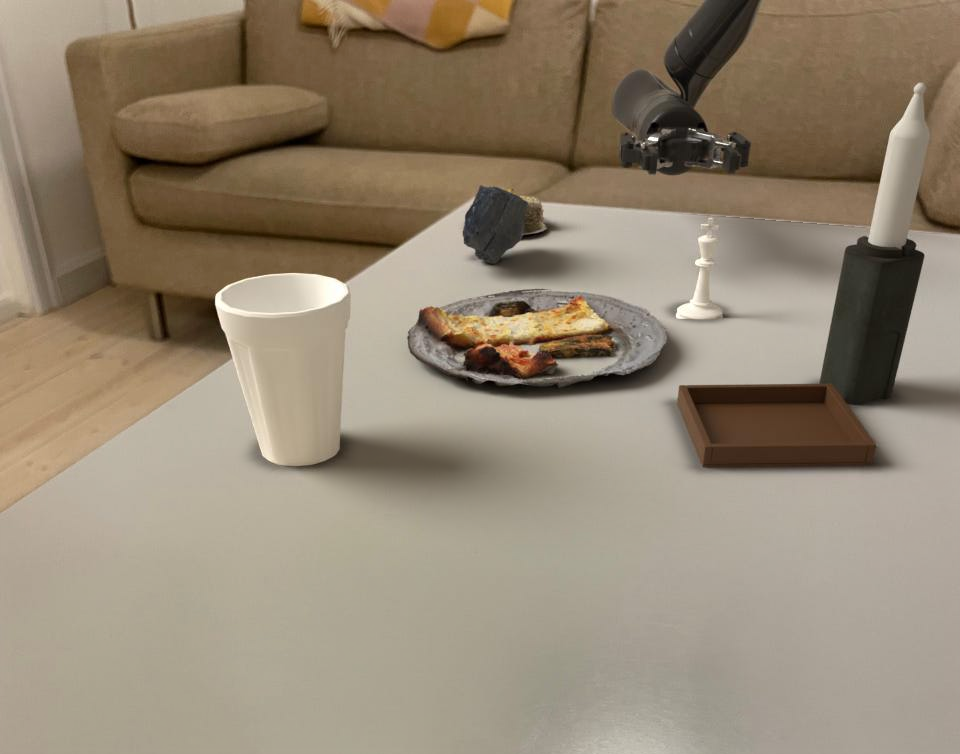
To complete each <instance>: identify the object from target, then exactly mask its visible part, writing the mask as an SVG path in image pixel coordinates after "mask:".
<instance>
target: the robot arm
mask: <svg viewBox="0 0 960 754" xmlns="http://www.w3.org/2000/svg"><path fill="white" fill-rule="evenodd" d="M762 2H763V0H703V1H702V2H701V4H700V5H699V6H698V8H697V9H696V10H695V11H694V12H693V14H692V15H691V16H690V17H689V19H687V21H686V22H685V24H684V25H683V26H682V27H681V28H680V30H679V31H678V32H677V34H676V35H675V36H674V37H673V38H672V40H671V41H670V43H668V45H667V47H666V49H665V51H664V54H663V65H664V68H665V70H666V72H667V74H668V75H669V77H670V78H671V80H672V81H673V82H674V84H675V85H676V87H677V88H678V90H679V92H678V91H677V90H675V89H674V88H673V87H672V86H671V85H669V84H668V83H666V82H665V81H664V80H663V79H661V78H660V77H659V76H658V75H656V74H655V73H654V72H653V71H651V70H650V69H647V68H636V69H634V70H631V71H629V72H628V73H627V74H626V75H624V76H623V78H621V80H620V81H619V82H618V84H617V85H616V88H615V89H614V92H613V95H612V99H611V113H612V116H613V118H614V119H615V120H616V121H617V122H618V123H619V124H620V125H621V126H622V127H624V128H625V129H626V130H627V131H629V132H630V133H629V132H627V131H625V132H624V131H623V133H620V136H619V148H618V159H619V163H620V167H622V168H624V169H628V168H632V167H633V164H637V168H638V169H640V170H643V171H646V172H647V173H648V175H650V176H651V175H657V173H660V174H662V175H665V176H671V177H672V176H681V175H683V174H685V173H688V172H690V171H691V170H693V169H694V168H695V167H699V168H704V169H707V170H711V169H715V168H718V167H720V168H722V170H723V171H724V172H725V173H726V174H727V175H735V174H736V171H740V169H741V168H746V167H748V166H749V162H750V161H749V158H750V152H751V147H752V141H750V140H749V139H748V138H747V137H745V136H744V135H742V134H741V133H740V132H737V131H731V132H728V135H727V136H726V139H724V138H723V136H722V135H721V134H719V133H714V132H709V129H708V126H707V123H706V122H705V119H704V118H703V116H702V115H701V113H699V112H698V110H696V107H697V105H698V103H699V101H700V100H701V98H702V96H703V94H704V93H705V91H706V90H707V89H708V87H709V85H710V84H711V83H712V82H713V80H714V79H715V78H716V77H717V76H718V74H720V72H721V71H722V70H723V69H724V67H725V66H727V64H728V63H729V62H730V61H731V60H732V59H733V57H735V55H736V54H737V53H738V52H739V50H740V49H741V48H742V47H743V46H744V43H745V42H746V41H747V38H748V37H749V35H750V34H751V32H752V29H753V27H754V25H755V22H756V19H757V17H758V13H759V10H760V8H761V4H762ZM722 152H723V155H722V158H721V154H722ZM706 159H707V160H706Z"/></svg>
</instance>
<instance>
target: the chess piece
mask: <svg viewBox="0 0 960 754" xmlns="http://www.w3.org/2000/svg"><path fill="white" fill-rule="evenodd" d="M700 230H701V231H706V234H704V235H701V236H699V237H698V239H697V242H698V246H699V253H700V257H699V258H697V259H696V260H695V262H694V264H695V266H697V267H700V268H699V271H698V272H699V273H698V278H697V282H696V286H695V290H694V294H693V297H692V298H691V299H690V300H689V302H687V303H683V304H682V305H679V307H677V309H676V313H675V317H676V319H678V320H686V319H688V320H690V319H691V320H698V321H699V320H702V321H703V320H706V321H707V320H713V319H724V316H723V314H724V311H723V309H722V308H721V307H719V306H718V305H716V304H713V300H711V297H710V268H712V267H716V265H717V261H716V259H712V256H713V254H714V253H715V249H716V248H717V245H718V243H719V238H718V237H717V236H715V235H713V234H712V231H719V224H714V217H708V219H707V223H701V224H700Z"/></svg>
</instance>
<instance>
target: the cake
mask: <svg viewBox="0 0 960 754" xmlns="http://www.w3.org/2000/svg"><path fill="white" fill-rule="evenodd" d="M507 191H508V192H510V193H512V194H515V188H513V187H511V188H509V189H507ZM519 197H521V199H523V200H525V201H527V202H528V205H527V210H526V215H525V219H524V230H523V234H522V236H526V235H532V234H538V233H540V232H541V233H542V232H544V231H546V230H548V227H547V225H546V224H545V223H544V220H545V217H543V216H544V211H545V210H544V209H543V207H544V206H543V204H542V202H541V201H540V200H539V198H536V197H534V196H525V195H520V196H519Z"/></svg>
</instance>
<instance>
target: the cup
mask: <svg viewBox="0 0 960 754" xmlns="http://www.w3.org/2000/svg"><path fill="white" fill-rule="evenodd" d="M214 299H215V301H214V305H215V309H216V312H217V317H218V319H219V320H218V321H219V324H220V327H221V328H220V329H222V331H223V333H224V335H225V338H226V340H227V344H228V347H229V351H230V354H231V357H232V360H233V364H234V367H235V370H236V374H237V377H238V380H239V383H240V386H241V390H242V393H243V397H244V400H245V403H246V406H247V409H248V413H249V416H250V419H251V422H252V425H253V430H254V432H255V436H256V439H257V443H258V445H259V448H260V449H259V450H260V452H261V455H262V457H263V458H265V459H266V460H267V461H268V462H271V463H274V464H275V465H279V466H289V467H301V466H312V465H316V464H319V463H323V462H325V461H327V460H329V459H332V458H333V457H335V456H336V455H337V454H338V452H339V451H340V449H341V447H340V445H341V425H342V407H343V406H342V405H343V389H344V387H343V385H344V369H345V368H344V367H345V349H346V348H345V347H346V330H347V328H348V326H349V325H348V324H349V321H350V319H351V301H352V300H351V299H352V294H351V290H350V287H349V286H348V284H345V283H344V282H343V281H340V280H338V279H337V278H335V277H331V276H325V275H321V274H315V273H299V272H288V273H287V272H286V273H273V274H264V275H259V276H252V277H247V278H244V279H241V280H238V281H235V282H233V283H230V284H227V285H226V286H224V287H223V288H222V289H220V290H219V291H218V292H217V293H216V294H215V298H214Z"/></svg>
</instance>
